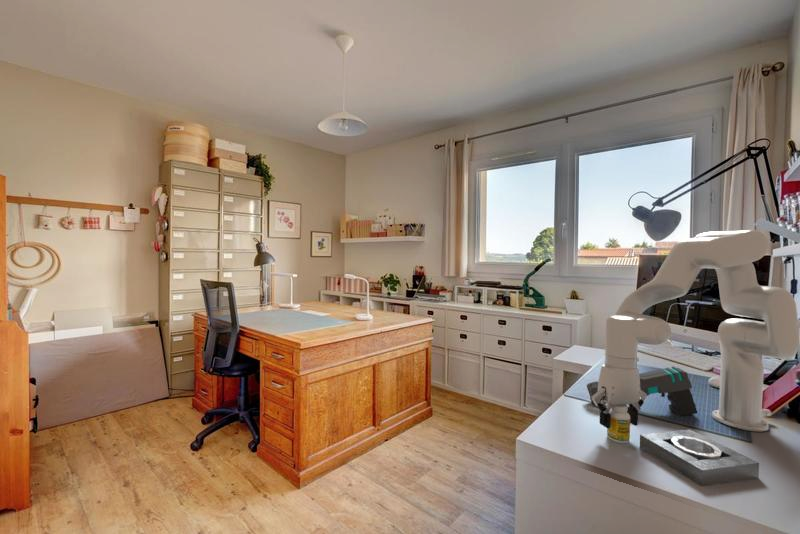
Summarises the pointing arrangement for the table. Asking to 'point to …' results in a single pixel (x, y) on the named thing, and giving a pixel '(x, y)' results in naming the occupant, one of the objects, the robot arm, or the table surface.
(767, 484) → the table surface
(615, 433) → the supplement bottle
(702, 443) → the bore block
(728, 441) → the table surface
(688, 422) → the table surface
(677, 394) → the gun
